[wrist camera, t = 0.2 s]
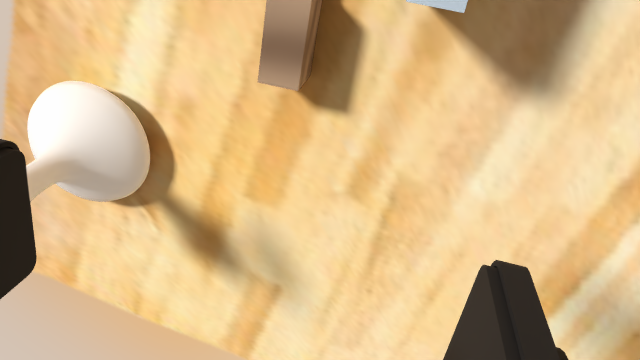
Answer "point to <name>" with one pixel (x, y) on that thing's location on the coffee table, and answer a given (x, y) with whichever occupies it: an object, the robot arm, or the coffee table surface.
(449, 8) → the blue grey notched plate
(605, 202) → the coffee table surface
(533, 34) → the coffee table surface
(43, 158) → the flower in vase
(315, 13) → the brown notched bar
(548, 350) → the robot arm
